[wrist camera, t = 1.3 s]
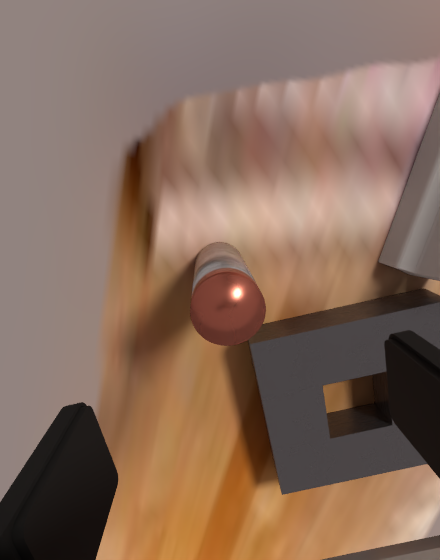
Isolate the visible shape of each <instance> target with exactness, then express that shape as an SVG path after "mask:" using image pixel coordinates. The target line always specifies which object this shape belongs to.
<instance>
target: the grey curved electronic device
mask: <svg viewBox="0 0 440 560" xmlns="http://www.w3.org/2000/svg"><path fill="white" fill-rule="evenodd" d="M378 262H380V263H382V264H385V265H388V266H390V267H393V268H396V269H398V270H401V271H403V272H405V273H407V274H409V275H413V276H418V277H423V278H428V279H433V280H438V281H440V94H439V97H438V100H437V102H436V105H435V108H434V111H433V113H432V116H431V119H430V121H429V124H428V127H427V130H426V132H425V135H424V138H423V141H422V143H421V146H420V149H419V152H418V154H417V157H416V160H415V163H414V165H413V168H412V171H411V173H410V176H409V179H408V182H407V184H406V187H405V190H404V193H403V195H402V198H401V201H400V204H399V206H398V209H397V212H396V215H395V217H394V220H393V223H392V225H391V228H390V231H389V234H388V236H387V239H386V242H385V245H384V247H383V250H382V253H381V256H380V258H379V261H378Z"/></svg>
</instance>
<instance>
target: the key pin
mask: <svg viewBox="0 0 440 560" xmlns="http://www.w3.org/2000/svg"><path fill="white" fill-rule="evenodd" d="M265 313H266V306H265V301H264V298H263V295H262V293H261V291H260V290H259V288H258V286H257V284H256V282H255V280H254V278H253V276H252V275H251V273H250V271H249V269H248V267H247V265H246V263H245V262H244V260H243V258H242V256H241V254H240V253H239V251H238V250H237V249H236V248H235V247H233V246H232V245H230V244H228V243H224V242H216V243H212V244H209V245H207V246H206V247H204V248H203V249H202V250H201V251H200V253H199V254H198V256H197V258H196V262H195V271H194V280H193V289H192V298H191V307H190V316H191V320H192V323H193V326H194V327H195V329H196V331H197V332H198V333H199V334H200V335H201V336H202V337H203V338H204V339H206V340H207V341H209V342H211V343H214V344H217V345H224V346H231V345H237V344H240V343H243V342H245V341H247V340H248V339H250V338H251V337H253V336H254V335H255V334H256V333H257V332H258V330H259V329H260V327H261V326H262V324H263V322H264V318H265Z"/></svg>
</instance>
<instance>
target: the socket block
mask: <svg viewBox="0 0 440 560" xmlns="http://www.w3.org/2000/svg"><path fill="white" fill-rule="evenodd" d="M406 330H411V331H413V332H415V333H416V334H418V335H419V336H421V337H422V338H424V339H425V340H426V341H428V342H429V343H431V344H432V345H434V346H435V347H437V348H438V349H440V296H439V295H437V294H435V293H433V292H431V291H429V290H426V289H419V290H415V291H410V292H406V293H401V294H397V295H392V296H388V297H383V298H379V299H374V300H370V301H365V302H361V303H356V304H352V305H347V306H343V307H338V308H334V309H329V310H325V311H320V312H316V313H311V314H307V315H302V316H298V317H293V318H289V319H284V320H280V321H275V322H271V323H266V324H262V326H261V327H260V329H259V330H258V332H257V333H256V334H255V335H254V336H253V337H251V338H250V339H248V344H249V348H250V353H251V358H252V362H253V367H254V372H255V376H256V381H257V386H258V390H259V395H260V399H261V404H262V409H263V413H264V418H265V423H266V427H267V432H268V437H269V441H270V446H271V451H272V455H273V460H274V464H275V469H276V473H277V477H278V481H279V485H280V489H281V493H282V495H283V494H288V493H292V492H297V491H302V490H307V489H311V488H316V487H321V486H325V485H330V484H335V483H339V482H344V481H349V480H353V479H358V478H363V477H368V476H372V475H377V474H382V473H386V472H391V471H396V470H400V469H405V468H410V467H414V466H419V465H424V464H427V462H426V461H425V460H424V459H423V458H422V456H421V455H420V454H419V453H418V452H417V450H416V449H415V448H414V447H413V445H412V444H411V443H410V442H409V441H408V439H407V438H406V437H405V436H404V434H403V433H402V432H401V431H400V430H399V428H398V427H397V426H396V425H395V423H394V421H393V419H392V417H391V414H390V406H389V394H388V382H387V371H386V359H385V347H384V342H385V340H388V339H389V335H390V334H393V333H397V332H402V331H406ZM368 375H372V376H373V386H374V397H375V403H374V404H369V405H364V406H360V407H355V408H350V409H346V410H341V411H337V412H332V413H326V407H325V400H324V393H323V386H322V385H327V384H331V383H336V382H341V381H345V380H350V379H354V378H359V377H364V376H368Z"/></svg>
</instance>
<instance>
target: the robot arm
mask: <svg viewBox="0 0 440 560" xmlns="http://www.w3.org/2000/svg"><path fill="white" fill-rule="evenodd" d="M384 347H385V359H386V371H387V382H388V394H389V406H390V414H391V417H392V419H393V421H394V423H395V425H396V426H397V427H398V428H399V430H400V431H401V432H402V433H403V434H404V436H405V437H406V438H407V439H408V441H409V442H410V443H411V444H412V445H413V447H414V448H415V449H416V450H417V452H418V453H419V454H420V455H421V456H422V458H423V459H424V460H425V461H426V462H427V464H428V465H429V466H430V467H431V469H432V470H433V471H434V472H435V473H436V475H437V476H438V477H439V478H440V349H438V348H437V347H435V346H434V345H432V344H431V343H429V342H428V341H426V340H425V339H424V338H422V337H421V336H419V335H418V334H416V333H415V332H413V331H411V330H406V331H402V332H397V333H393V334H390V335H389V339H388V340H385V342H384ZM117 484H118V473H117V470H116V467H115V465H114V462H113V460H112V457H111V455H110V452H109V450H108V447H107V444H106V442H105V439H104V437H103V434H102V432H101V429H100V426H99V424H98V421H97V419H96V416H95V414H94V411H93V409H92V407H91V406H86V404H85V403H83V402H82V403H77V404H73V405H68V406H65V407H63V408H62V409H61V411H60V412H59V414H58V415H57V417H56V418H55V420H54V421H53V423H52V424H51V426H50V427H49V429H48V431H47V432H46V434H45V435H44V436H43V438H42V440H41V441H40V443H39V444H38V446H37V447H36V449H35V450H34V452H33V453H32V455H31V456H30V458H29V459H28V461H27V462H26V464H25V465H24V467H23V468H22V470H21V472H20V473H19V475H18V476H17V478H16V479H15V481H14V482H13V484H12V485H11V487H10V489H9V490H8V491H7V493H6V494H5V496H4V498H3V499H2V501H1V502H0V560H95V559H96V556H97V553H98V549H99V546H100V542H101V539H102V536H103V532H104V529H105V525H106V522H107V519H108V515H109V512H110V509H111V505H112V502H113V498H114V495H115V492H116V488H117ZM322 560H440V535H439V536H434V537H429V538H424V539H419V540H414V541H409V542H405V543H400V544H395V545H390V546H385V547H380V548H375V549H371V550H366V551H361V552H356V553H351V554H346V555H342V556H337V557H332V558H327V559H322Z"/></svg>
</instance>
